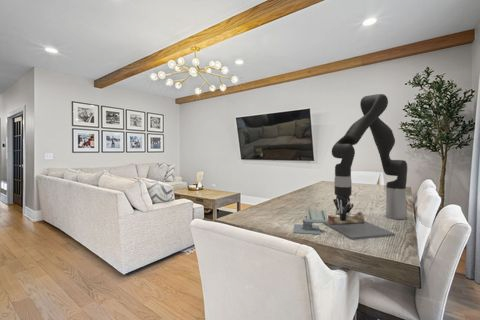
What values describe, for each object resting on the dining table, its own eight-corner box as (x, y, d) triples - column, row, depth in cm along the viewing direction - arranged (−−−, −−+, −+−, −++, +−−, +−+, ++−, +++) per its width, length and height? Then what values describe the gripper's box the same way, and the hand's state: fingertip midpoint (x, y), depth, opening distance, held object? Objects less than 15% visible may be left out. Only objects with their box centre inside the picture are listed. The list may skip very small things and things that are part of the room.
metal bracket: (302, 207, 137) (328, 207, 134) (302, 215, 139) (328, 216, 136) (304, 220, 124) (333, 221, 121) (304, 229, 126) (332, 231, 123)
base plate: (358, 220, 128) (358, 208, 128) (394, 235, 104) (395, 221, 104) (322, 222, 124) (322, 211, 124) (351, 239, 100) (351, 225, 100)
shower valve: (326, 224, 105) (293, 222, 109) (326, 236, 106) (293, 234, 109) (324, 217, 117) (294, 215, 121) (324, 227, 118) (294, 225, 121)
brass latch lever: (360, 220, 124) (360, 213, 124) (366, 222, 119) (366, 215, 119) (327, 222, 121) (327, 215, 121) (332, 224, 117) (332, 217, 117)
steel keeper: (343, 220, 125) (343, 209, 124) (351, 224, 118) (351, 212, 118) (335, 221, 124) (335, 210, 124) (343, 224, 117) (343, 213, 117)
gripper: (359, 187, 105) (359, 224, 106) (341, 182, 118) (341, 216, 119) (344, 187, 103) (344, 225, 104) (328, 183, 116) (328, 217, 117)
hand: (342, 220), depth 111 cm, fingers closed
